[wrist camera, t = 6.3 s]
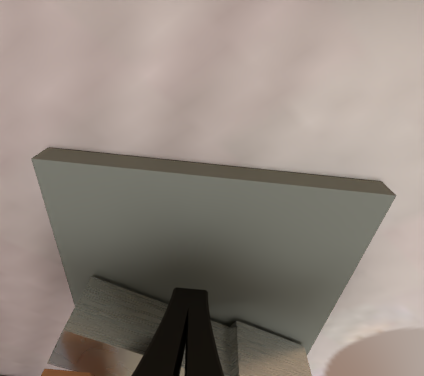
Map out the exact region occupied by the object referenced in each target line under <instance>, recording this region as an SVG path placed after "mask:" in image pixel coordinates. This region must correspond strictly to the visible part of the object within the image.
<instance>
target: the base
mask: <svg viewBox="0 0 424 376" xmlns="http://www.w3.org/2000/svg"><path fill="white" fill-rule="evenodd" d="M32 162H33V166H34V169H35V173H36V176H37V179H38V183H39V186H40V189H41V193H42V196H43V200H44V203H45V206H46V210H47V213H48V216H49V220H50V223H51V227H52V230H53V233H54V237H55V240H56V243H57V247H58V250H59V254H60V257H61V260H62V264H63V267H64V270H65V274H66V277H67V281H68V284H69V287H70V291H71V294H72V297H73V301H74V304H75V307H76V305H77V303H78V301H79V299H80V297H81V296H82V294H83V292H84V290H85V288H86V286H87V284H88V282H89V281H90V279H91V277H92V276H93V277H95V278H98V279H101V280H103V281H106V282H109V283H112V284H114V285H117V286H120V287H122V288H125V289H128V290H130V291H133V292H136V293H139V294H141V295H144V296H147V297H149V298H152V299H155V300H158V301H160V302H163V303H166V304H169V302H170V299H171V296H172V293H173V289H174V288H176V287H178V288H189V289H200V290H206V291H207V292H208V304H209V312H210V318H211V320H212V321H214V322H217V323H220V324H222V325H225V326H228V327H230V326H231V325H232V324H233V323H234V322H235V321H239V322H242V323H245V324H247V325H250V326H252V327H255V328H258V329H260V330H263V331H266V332H268V333H271V334H274V335H276V336H279V337H281V338H284V339H287V340H289V341H292V342H295V343H297V344H300V345H303V346H304V347H305V351H306V355H307V354H308V353H309V351H310V349H311V347H312V345H313V344H314V342H315V340H316V338H317V337H318V335H319V333H320V331H321V329H322V328H323V326H324V324H325V322H326V320H327V319H328V317H329V315H330V313H331V311H332V310H333V308H334V306H335V304H336V303H337V301H338V299H339V297H340V295H341V294H342V292H343V290H344V288H345V286H346V285H347V283H348V281H349V279H350V278H351V276H352V274H353V272H354V270H355V269H356V267H357V265H358V263H359V261H360V260H361V258H362V256H363V254H364V252H365V251H366V249H367V247H368V245H369V244H370V242H371V240H372V238H373V236H374V235H375V233H376V231H377V229H378V227H379V226H380V224H381V222H382V220H383V219H384V217H385V215H386V213H387V211H388V210H389V208H390V206H391V204H392V202H393V201H394V199H395V197H396V195H395V194H394V193H393V192H392V191H391V190H390V189H389V188H388V187H387V186H386V185H385V184H384V183H383V182H380V181H370V180H360V179H350V178H341V177H331V176H321V175H311V174H301V173H292V172H282V171H272V170H262V169H253V168H243V167H233V166H223V165H213V164H204V163H194V162H184V161H174V160H164V159H155V158H145V157H135V156H125V155H115V154H106V153H96V152H86V151H76V150H67V149H57V148H47V149H45V150H44V151H42V152H41V153H39V154H38V155H36V156H35V157H33V158H32Z"/></svg>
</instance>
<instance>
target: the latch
mask: <svg viewBox="0 0 424 376" xmlns="http://www.w3.org/2000/svg"><path fill="white" fill-rule="evenodd" d="M167 307H168V304H166V303H163V302H160V301H158V300H155V299H152V298H149V297H147V296H144V295H141V294H139V293H136V292H133V291H130V290H128V289H125V288H122V287H120V286H117V285H114V284H112V283H109V282H106V281H103V280H101V279H98V278H95V277H93V276H92V277H91V279H90V281H89V282H88V284H87V286H86V288H85V290H84V292H83V294H82V296H81V297H80V299H79V301H78V303H77V305H76V307H75V309H74V310H73V312H72V314H71V316H70V318H69V320H68V322H67V324H66V325H65V327H64V329H63V331H62V333H61V335H60V338H59V340H58V342H57V344H56V346H55V348H54V350H53V352H52V354H51V357H50V359H49V361H48V364H52V365H55V366H59V367H62V368H66V369H69V370H73V371H77V372H88V373H91V375H92V376H131V375H132V374H133V372H134V371H135V369H136V367H137V365H138V364H139V362H140V360H141V358H142V357H143V355H144V353H145V351H146V350H147V348H148V346H149V344H150V342H151V340H152V338H153V336H154V334H155V332H156V330H157V328H158V326H159V324H160V322H161V320H162V318H163V316H164V314H165V311H166V309H167ZM211 324H212V329H213V334H214V338H215V343H216V347H217V351H218V355H219V359H220V363H221V366H222V369H223V373H224V376H312V375H311V371H310V367H309V363H308V359H307V355H306V351H305V347H304V346H303V345H300V344H297V343H295V342H292V341H289V340H287V339H284V338H281V337H279V336H276V335H274V334H271V333H268V332H266V331H263V330H260V329H258V328H255V327H252V326H250V325H247V324H245V323H242V322H239V321H235V322H234V323H233V324H232V325H231V326H230V327H228V326H225V325H222V324H220V323H217V322H214V321H212V320H211ZM185 347H186V345H185ZM184 375H185V350H184V355H183V360H182V366H181V371H180V376H184Z"/></svg>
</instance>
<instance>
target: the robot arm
mask: <svg viewBox="0 0 424 376" xmlns="http://www.w3.org/2000/svg"><path fill="white" fill-rule="evenodd" d="M185 345H186V347H185ZM184 350H185V375H184V376H224V373H223V369H222V366H221V363H220V359H219V355H218V351H217V347H216V343H215V338H214V334H213V329H212V324H211V318H210V312H209V304H208V292H207V291H206V290H200V289H189V288H178V287H176V288H174V289H173V293H172V296H171V299H170V302H169V304H168V307H167V309H166V311H165V314H164V316H163V318H162V320H161V322H160V324H159V326H158V328H157V330H156V332H155V334H154V336H153V338H152V340H151V342H150V344H149V346H148V348H147V350H146V351H145V353H144V355H143V357H142V358H141V360H140V362H139V364H138V365H137V367H136V369H135V371H134V372H133V374H132V375H131V376H180V371H181V366H182V360H183V355H184Z"/></svg>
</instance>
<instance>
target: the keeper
mask: <svg viewBox="0 0 424 376" xmlns="http://www.w3.org/2000/svg"><path fill="white" fill-rule="evenodd" d="M41 376H92V375H91V373H88V372H76V371H64V370H53V369H44V371H43V373H42V375H41Z"/></svg>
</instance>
